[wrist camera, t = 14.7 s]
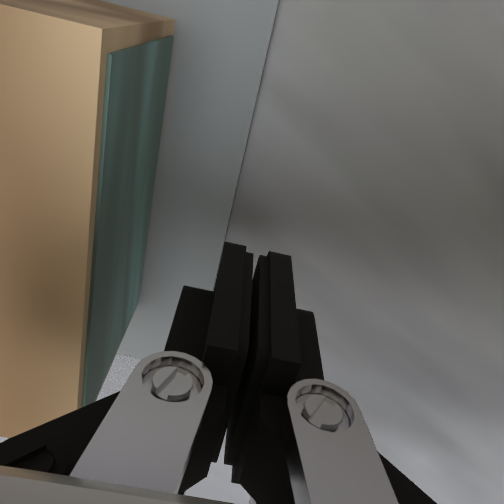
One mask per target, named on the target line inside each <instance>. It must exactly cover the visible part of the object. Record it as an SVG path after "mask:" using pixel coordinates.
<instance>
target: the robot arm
mask: <svg viewBox="0 0 504 504" xmlns="http://www.w3.org/2000/svg"><path fill="white" fill-rule="evenodd" d="M252 274H253V253H248V252H246V246H243V245H238V244H233V243H229V242H225V244H224V248H223V252H222V256H221V261H220V265H219V270H218V274H217V278H216V283H215V287H214V291H209V290H204V289H200V288H195V287H190V286H185V285H184V286H183V288H182V292H181V295H180V298H179V302H178V305H177V308H176V312H175V315H174V319H173V322H172V325H171V329H170V332H169V335H168V339H167V342H166V345H165V349H164V351H161V352H157V353H153V354H150V355H149V356H147V357H145V358H143V359H142V360H141V361H140V362H139V363H138V364H137V365H136V367H135V368H134V370H133V372H132V373H131V375H130V377H129V378H128V380H127V381H126V383H125V385H124V386H123V388H122V390H121V391H119V392H117V393H115V394H112V395H110V396H108V397H105V398H103V399H100V400H98V401H96V402H93V403H91V404H89V405H86V406H84V407H82V408H79V409H77V410H75V411H72V412H70V413H68V414H65V415H63V416H61V417H58V418H56V419H54V420H51V421H49V422H47V423H44V424H42V425H40V426H37V427H35V428H33V429H30V430H28V431H25V432H23V433H21V434H18V435H16V436H14V437H11V438H9V439H7V440H5V441H4V442H2V443H0V504H233V503H228V502H222V501H216V500H210V499H204V498H198V497H192V496H186V495H185V492H186V490H187V489H189V488H190V487H192V486H193V485H195V484H196V483H198V482H199V481H201V480H202V479H204V478H205V477H207V474H208V471H209V467H210V464H211V462H215V463H216V462H217V460H218V456H219V453H220V450H221V446H222V443H223V439H224V436H225V432H226V429H227V433H226V444H225V455H224V464H227V465H232V466H233V467H232V480H231V482H232V483H237V484H241V485H242V486H243V488H244V489H245V490H246V491H247V492H248V493H249V495H250V496H251V497H250V500H249V504H437V503H436V502H434V501H433V500H432V499H431V498H430V497H429V496H428V495H427V494H425V493H424V492H423V491H422V490H421V489H420V488H419V487H417V486H416V485H415V484H414V483H413V482H412V481H411V480H409V479H408V478H407V477H406V476H405V475H404V474H403V473H401V472H400V471H399V470H398V469H397V468H396V467H395V466H393V465H392V464H391V463H390V462H389V461H388V460H387V459H386V458H384V457H383V456H382V455H381V454H380V453H379V452H378V451H377V449H376V447H375V444H374V442H373V439H372V437H371V434H370V432H369V429H368V427H367V424H366V422H365V420H364V417H363V415H362V412H361V410H360V408H359V406H358V405H357V403H356V401H355V400H354V399H353V398H352V397H351V396H350V395H349V394H348V393H347V392H346V391H345V390H343V389H342V388H340V387H339V386H337V385H335V384H333V383H330V382H328V381H325V380H324V376H323V369H322V363H321V357H320V350H319V344H318V337H317V331H316V324H315V318H314V314H313V312H310V311H305V310H301V309H296V302H295V292H294V282H293V272H292V261H291V256H289V255H284V254H279V253H275V252H270V251H269V253H268V255H267V256H262V255H260V256H259V258H258V262H257V265H256V269H255V273H254V277H253V280H252Z"/></svg>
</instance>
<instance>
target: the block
mask: <svg viewBox="0 0 504 504" xmlns="http://www.w3.org/2000/svg"><path fill="white" fill-rule="evenodd" d="M174 26H175V19H172V18H168V17H164V16H160V15H156V14H152V13H148V12H144V11H140V10H136V9H132V8H128V7H124V6H120V5H116V4H112V3H108V2H104V1H100V0H0V436H2V437H7V438H11V437H14V436H16V435H18V434H21V433H23V432H25V431H28V430H30V429H33V428H35V427H37V426H40V425H42V424H44V423H47V422H49V421H51V420H54V419H56V418H58V417H61V416H63V415H65V414H68V413H70V412H72V411H75V410H77V409H79V408H82V407H84V406H86V405H89V404H91V403H93V402H95V401H96V399H97V397H98V394H99V392H100V390H101V387H102V385H103V383H104V381H105V378H106V376H107V374H108V372H109V369H110V367H111V365H112V362H113V360H114V358H115V356H116V353H117V351H118V349H119V347H120V344H121V342H122V340H123V337H124V335H125V333H126V331H127V328H128V326H129V324H130V322H131V319H132V317H133V315H134V312H135V310H136V308H137V305H138V302H139V294H140V287H141V279H142V272H143V264H144V257H145V249H146V242H147V234H148V227H149V219H150V212H151V204H152V197H153V189H154V182H155V174H156V167H157V159H158V152H159V144H160V137H161V129H162V122H163V114H164V107H165V99H166V91H167V84H168V76H169V69H170V61H171V54H172V46H173V39H174V36H173V33H174Z"/></svg>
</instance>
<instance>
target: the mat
mask: <svg viewBox="0 0 504 504" xmlns="http://www.w3.org/2000/svg"><path fill="white" fill-rule="evenodd" d="M100 1H104V2H108V3H112V4H116V5H120V6H124V7H128V8H132V9H136V10H140V11H144V12H148V13H152V14H156V15H160V16H164V17H168V18H172V19H175V26H174V33H173V36H174V39H173V46H172V54H171V61H170V69H169V76H168V84H167V91H166V99H165V107H164V114H163V122H162V129H161V137H160V144H159V152H158V159H157V167H156V174H155V182H154V189H153V197H152V204H151V212H150V219H149V227H148V234H147V242H146V249H145V257H144V264H143V272H142V279H141V287H140V294H139V302H138V305H137V308H136V310H135V312H134V315H133V317H132V319H131V322H130V324H129V326H128V328H127V331H126V333H125V335H124V337H123V340H122V342H121V344H120V347H119V349H118V351H117V353H116V354H119V355H124V356H129V357H134V358H140V359H143V358H145V357H147V356H149V355H150V354H153V353H157V352H161V351H164V349H165V345H166V342H167V339H168V335H169V332H170V329H171V325H172V322H173V319H174V315H175V312H176V308H177V305H178V302H179V298H180V295H181V292H182V288H183V286H184V285H185V286H190V287H195V288H200V289H204V290H209V291H213V288H214V284H215V279H216V275H217V271H218V266H219V262H220V257H221V253H222V249H223V244H224V240H225V235H226V231H227V226H228V222H229V218H230V213H231V209H232V204H233V200H234V196H235V191H236V187H237V182H238V178H239V174H240V169H241V165H242V160H243V156H244V151H245V147H246V143H247V138H248V134H249V129H250V125H251V121H252V116H253V112H254V107H255V103H256V99H257V94H258V90H259V85H260V81H261V77H262V72H263V68H264V63H265V59H266V54H267V50H268V46H269V41H270V37H271V32H272V28H273V24H274V19H275V15H276V10H277V6H278V2H279V0H100Z"/></svg>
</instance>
